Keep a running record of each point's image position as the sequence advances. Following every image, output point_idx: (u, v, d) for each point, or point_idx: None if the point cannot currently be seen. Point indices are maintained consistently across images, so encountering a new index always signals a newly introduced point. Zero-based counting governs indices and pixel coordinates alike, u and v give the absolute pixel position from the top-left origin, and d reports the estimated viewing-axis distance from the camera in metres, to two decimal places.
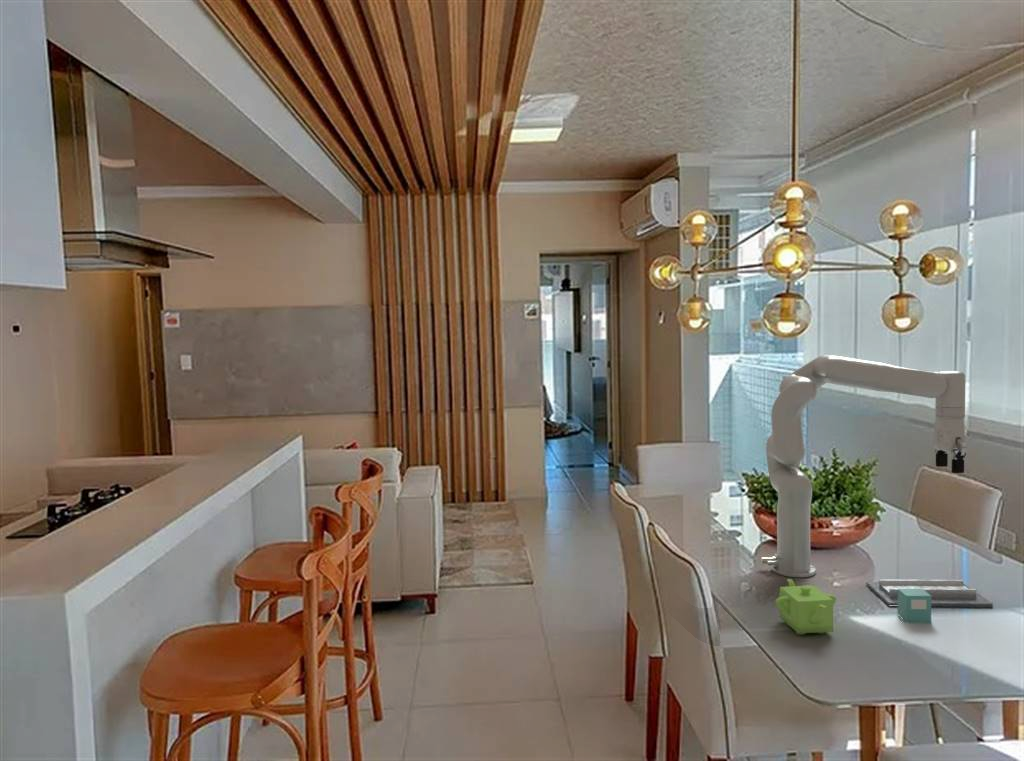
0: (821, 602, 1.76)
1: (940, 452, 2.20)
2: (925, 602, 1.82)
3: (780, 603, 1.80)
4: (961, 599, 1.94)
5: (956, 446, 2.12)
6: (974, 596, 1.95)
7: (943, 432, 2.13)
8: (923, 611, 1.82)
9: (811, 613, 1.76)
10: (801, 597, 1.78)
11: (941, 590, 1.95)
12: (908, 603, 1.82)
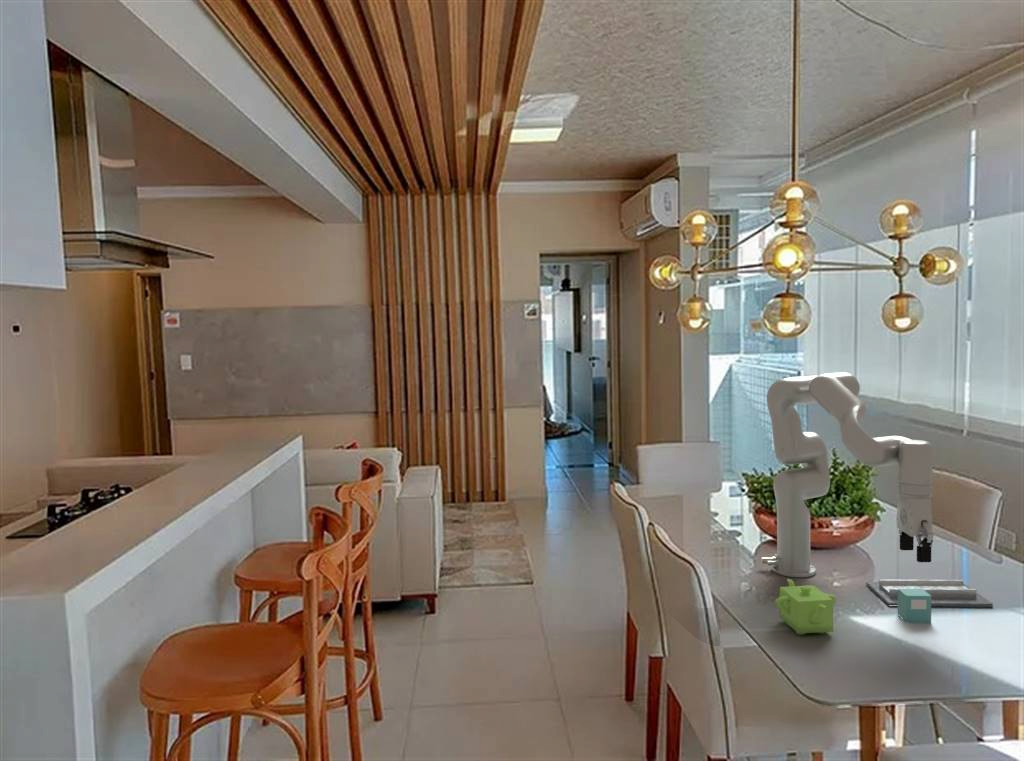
0: (821, 602, 1.76)
1: (905, 533, 1.88)
2: (925, 602, 1.82)
3: (780, 603, 1.80)
4: (961, 599, 1.94)
5: (922, 530, 1.80)
6: (974, 596, 1.95)
7: (907, 513, 1.81)
8: (923, 611, 1.82)
9: (811, 613, 1.76)
10: (801, 597, 1.78)
11: (941, 590, 1.95)
12: (908, 603, 1.82)
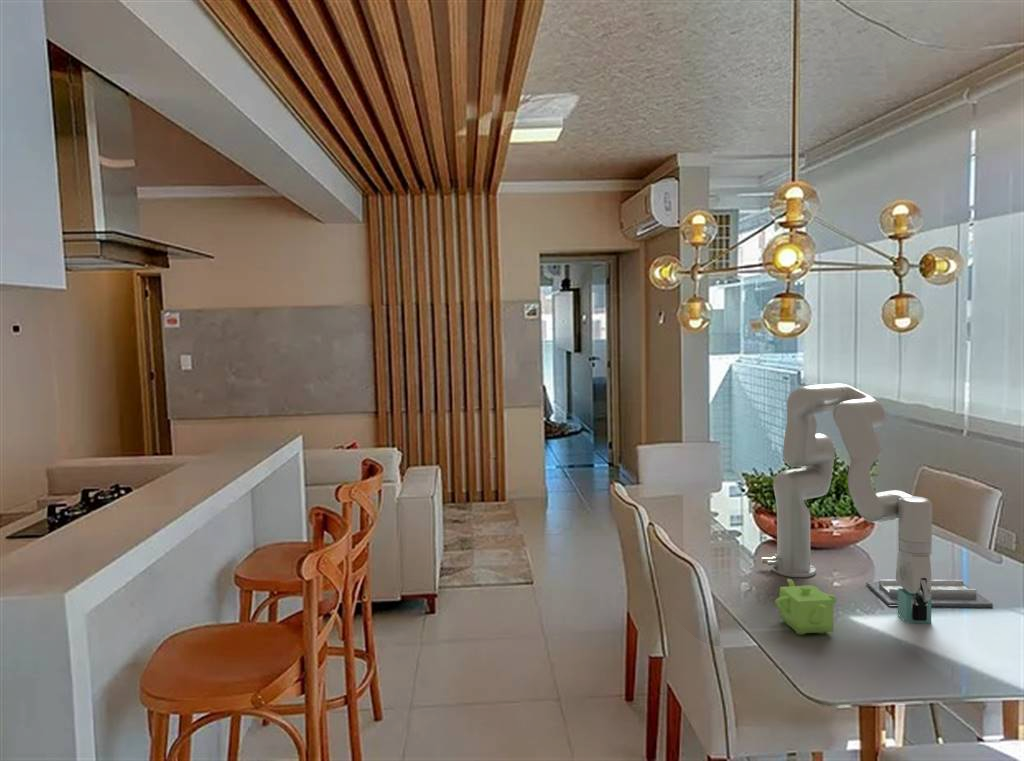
0: (821, 602, 1.76)
1: None
2: None
3: (780, 603, 1.80)
4: (961, 599, 1.94)
5: None
6: (974, 596, 1.95)
7: (906, 570, 1.82)
8: None
9: (811, 613, 1.76)
10: (801, 597, 1.78)
11: (941, 590, 1.95)
12: (908, 603, 1.82)
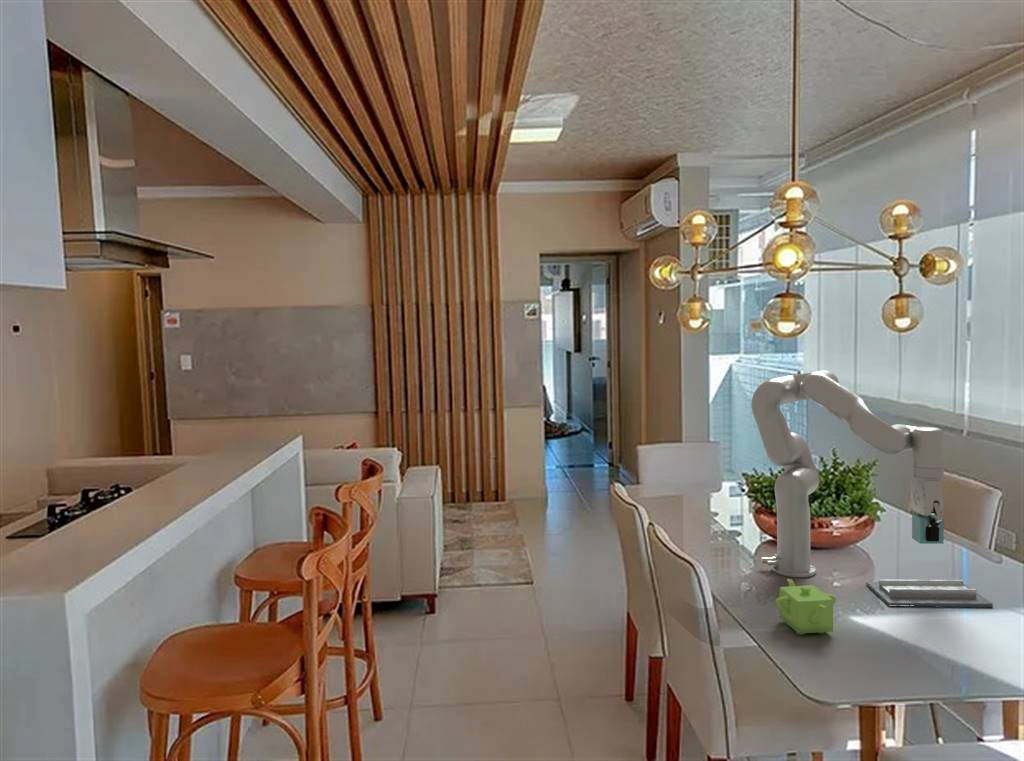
0: (821, 602, 1.76)
1: None
2: None
3: (780, 603, 1.80)
4: (961, 599, 1.94)
5: None
6: (974, 596, 1.95)
7: (920, 494, 1.96)
8: None
9: (811, 613, 1.76)
10: (801, 597, 1.78)
11: (941, 590, 1.95)
12: (922, 525, 1.96)
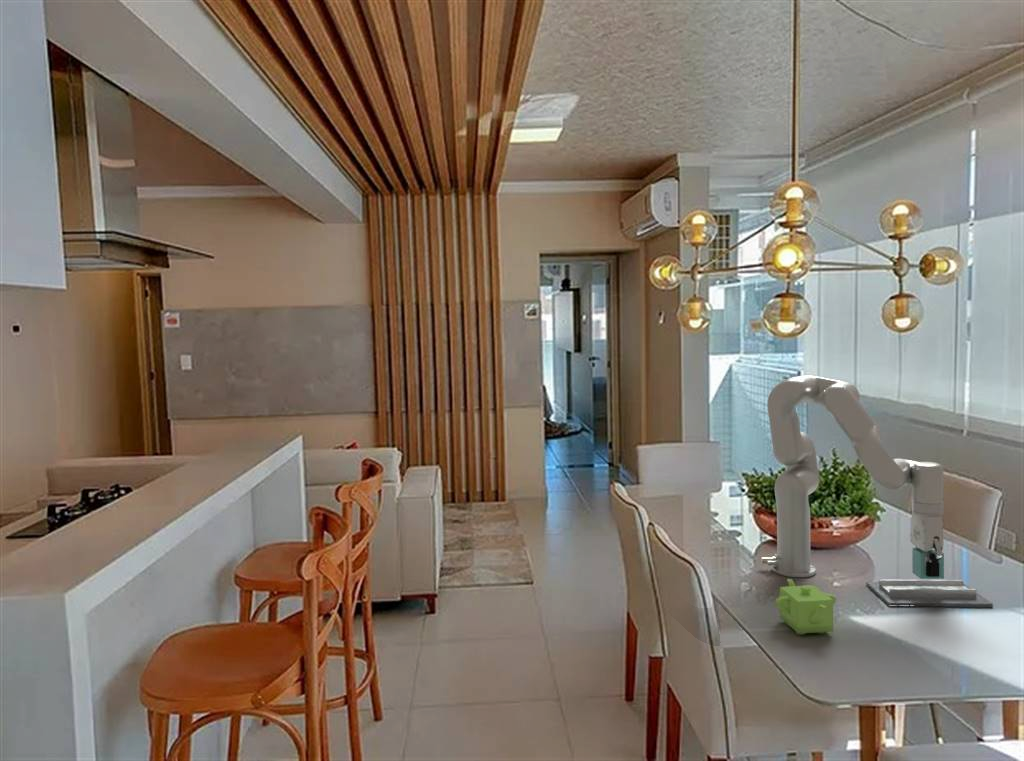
0: (821, 602, 1.76)
1: None
2: None
3: (780, 603, 1.80)
4: (961, 599, 1.94)
5: None
6: (974, 596, 1.95)
7: (920, 529, 1.96)
8: None
9: (811, 613, 1.76)
10: (801, 597, 1.78)
11: (941, 590, 1.95)
12: (922, 560, 1.97)
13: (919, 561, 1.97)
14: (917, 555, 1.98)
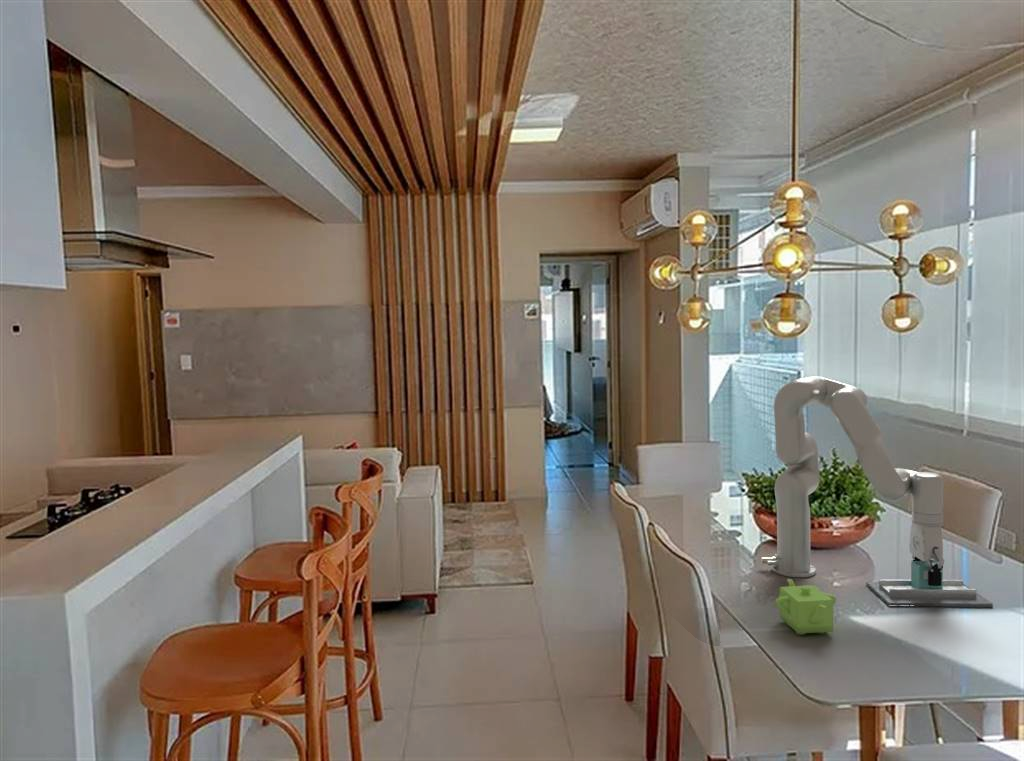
0: (821, 602, 1.76)
1: (917, 558, 2.04)
2: None
3: (780, 603, 1.80)
4: (961, 599, 1.94)
5: (933, 555, 1.96)
6: (974, 596, 1.95)
7: (919, 540, 1.97)
8: None
9: (811, 613, 1.76)
10: (801, 597, 1.78)
11: (941, 590, 1.95)
12: (921, 573, 1.97)
13: (918, 574, 1.98)
14: (916, 568, 1.99)
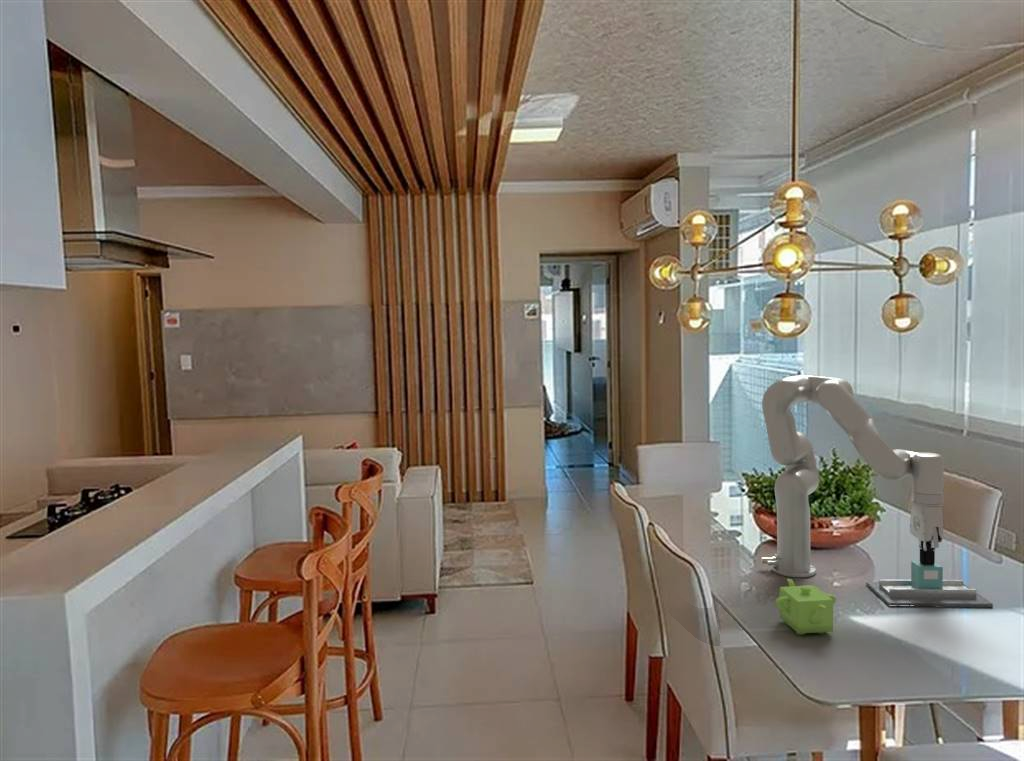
0: (821, 602, 1.76)
1: None
2: (936, 572, 1.97)
3: (780, 603, 1.80)
4: (961, 599, 1.94)
5: None
6: (974, 596, 1.95)
7: (920, 520, 1.96)
8: (935, 581, 1.97)
9: (811, 613, 1.76)
10: (801, 597, 1.78)
11: (941, 590, 1.95)
12: (921, 573, 1.97)
13: (918, 574, 1.98)
14: (916, 568, 1.99)
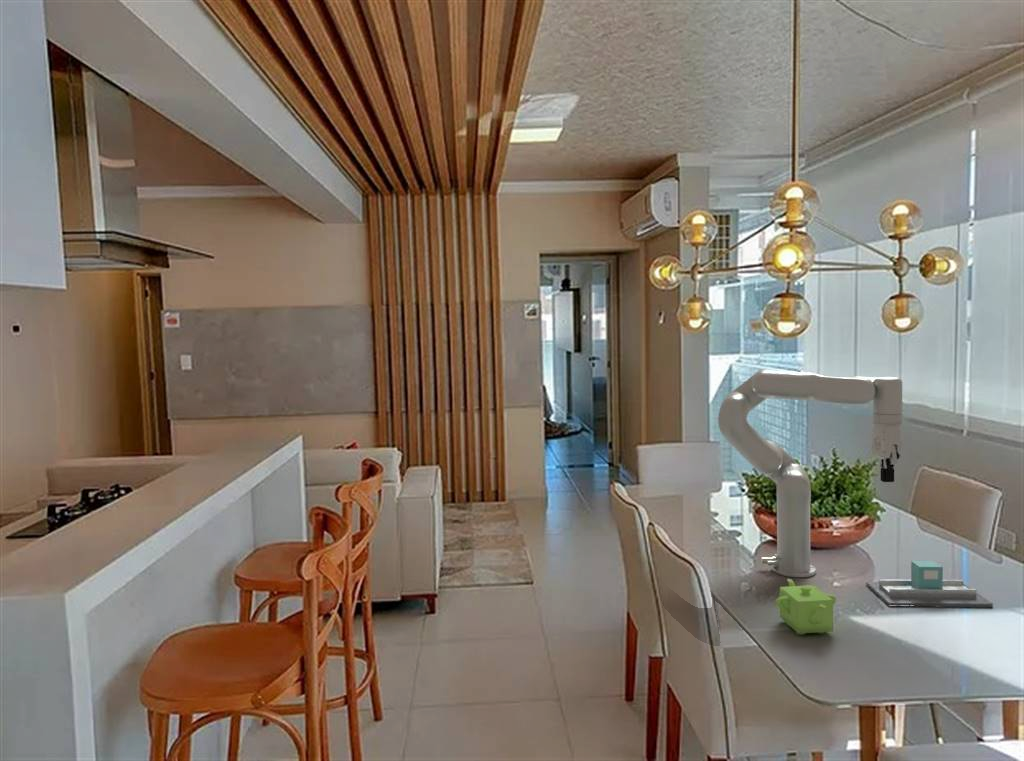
0: (821, 602, 1.76)
1: None
2: (936, 572, 1.97)
3: (780, 603, 1.80)
4: (961, 599, 1.94)
5: None
6: (974, 596, 1.95)
7: (880, 439, 2.09)
8: (935, 581, 1.97)
9: (811, 613, 1.76)
10: (801, 597, 1.78)
11: (941, 590, 1.95)
12: (921, 573, 1.97)
13: (918, 574, 1.98)
14: (916, 568, 1.99)
